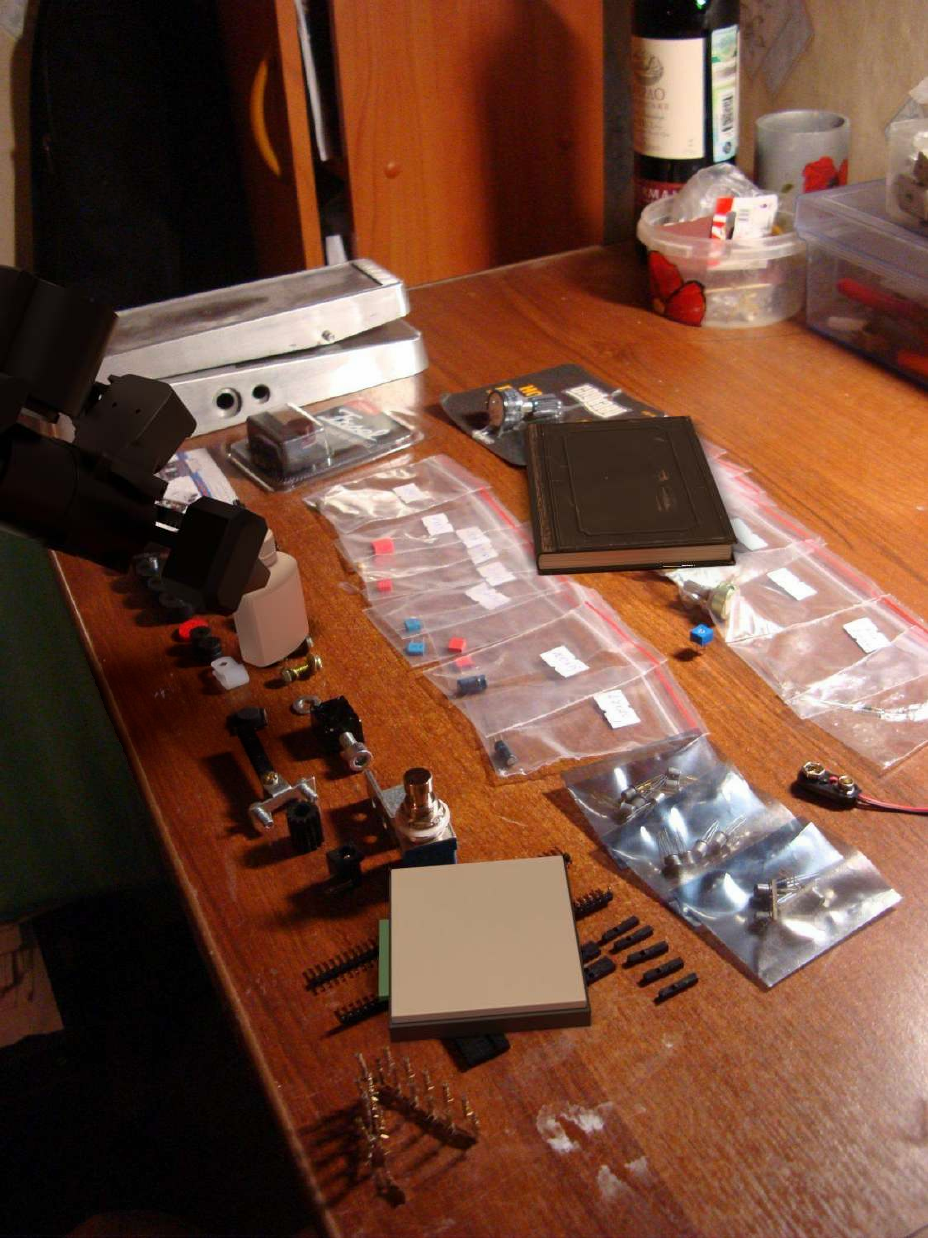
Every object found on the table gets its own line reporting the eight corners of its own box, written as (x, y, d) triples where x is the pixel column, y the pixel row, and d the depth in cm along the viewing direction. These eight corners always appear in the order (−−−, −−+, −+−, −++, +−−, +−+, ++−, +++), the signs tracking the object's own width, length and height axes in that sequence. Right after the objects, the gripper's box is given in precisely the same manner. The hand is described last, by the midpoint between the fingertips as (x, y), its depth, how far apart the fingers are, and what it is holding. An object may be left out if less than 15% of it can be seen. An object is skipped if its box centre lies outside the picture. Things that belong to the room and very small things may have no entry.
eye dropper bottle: (324, 659, 85) (301, 519, 78) (253, 684, 83) (222, 543, 76) (303, 630, 89) (279, 493, 82) (233, 653, 87) (203, 516, 80)
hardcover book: (688, 436, 111) (690, 414, 110) (735, 564, 92) (737, 540, 91) (523, 446, 112) (522, 424, 110) (536, 575, 93) (536, 551, 91)
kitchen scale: (381, 1058, 58) (375, 1021, 56) (382, 903, 66) (376, 867, 64) (590, 1040, 58) (591, 1003, 56) (566, 888, 66) (565, 852, 64)
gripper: (213, 385, 59) (367, 480, 73) (-13, 327, 68) (162, 422, 82) (134, 586, 59) (305, 644, 72) (-83, 501, 68) (105, 567, 82)
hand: (215, 561), depth 77 cm, fingers open, 9 cm apart
